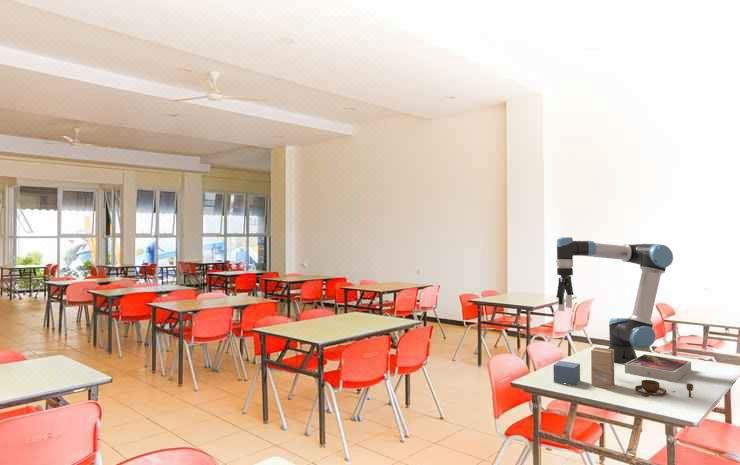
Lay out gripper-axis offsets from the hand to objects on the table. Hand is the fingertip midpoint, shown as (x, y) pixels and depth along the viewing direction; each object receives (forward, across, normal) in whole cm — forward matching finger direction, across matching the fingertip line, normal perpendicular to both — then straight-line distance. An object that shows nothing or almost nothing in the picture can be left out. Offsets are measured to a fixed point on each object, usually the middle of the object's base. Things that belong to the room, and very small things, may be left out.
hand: (565, 309), depth 254 cm
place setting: (+31, +17, +44) cm, 57 cm away
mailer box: (+31, +17, +21) cm, 41 cm away
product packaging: (+31, -23, +38) cm, 55 cm away
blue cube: (+31, +21, +6) cm, 38 cm away
